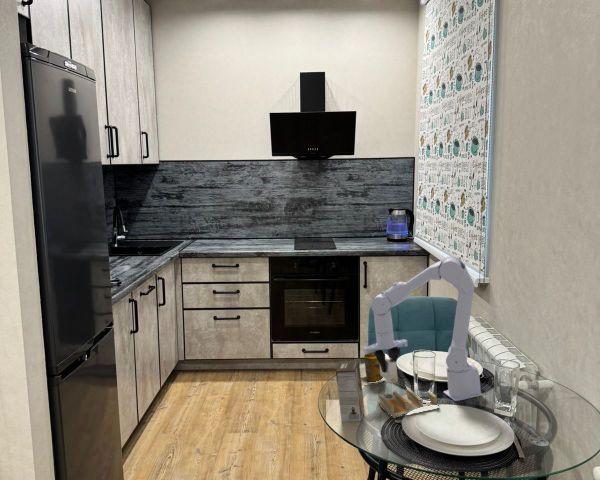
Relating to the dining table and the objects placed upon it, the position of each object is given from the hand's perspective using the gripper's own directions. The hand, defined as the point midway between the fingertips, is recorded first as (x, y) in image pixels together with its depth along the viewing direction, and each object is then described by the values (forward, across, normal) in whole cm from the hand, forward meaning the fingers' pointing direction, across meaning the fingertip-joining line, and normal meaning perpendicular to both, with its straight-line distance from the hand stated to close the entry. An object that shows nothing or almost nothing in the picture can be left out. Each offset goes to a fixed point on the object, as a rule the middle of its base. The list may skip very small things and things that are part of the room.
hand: (388, 370), depth 184 cm
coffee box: (+8, +17, +10) cm, 21 cm away
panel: (+3, 0, 0) cm, 3 cm away
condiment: (+8, +1, -14) cm, 16 cm away
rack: (+8, -1, +12) cm, 14 cm away
